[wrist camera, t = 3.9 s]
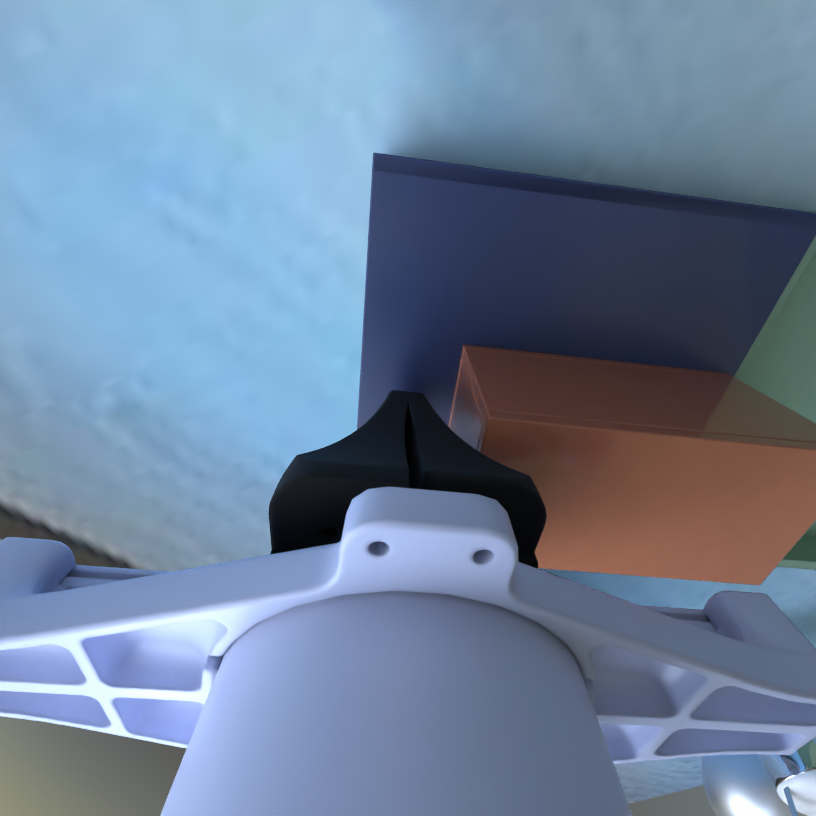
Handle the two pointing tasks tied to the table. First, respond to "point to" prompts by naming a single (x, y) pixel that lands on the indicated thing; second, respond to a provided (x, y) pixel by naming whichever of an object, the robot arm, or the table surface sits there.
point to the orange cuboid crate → (643, 462)
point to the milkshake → (794, 777)
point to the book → (559, 274)
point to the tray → (790, 368)
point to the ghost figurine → (741, 787)
